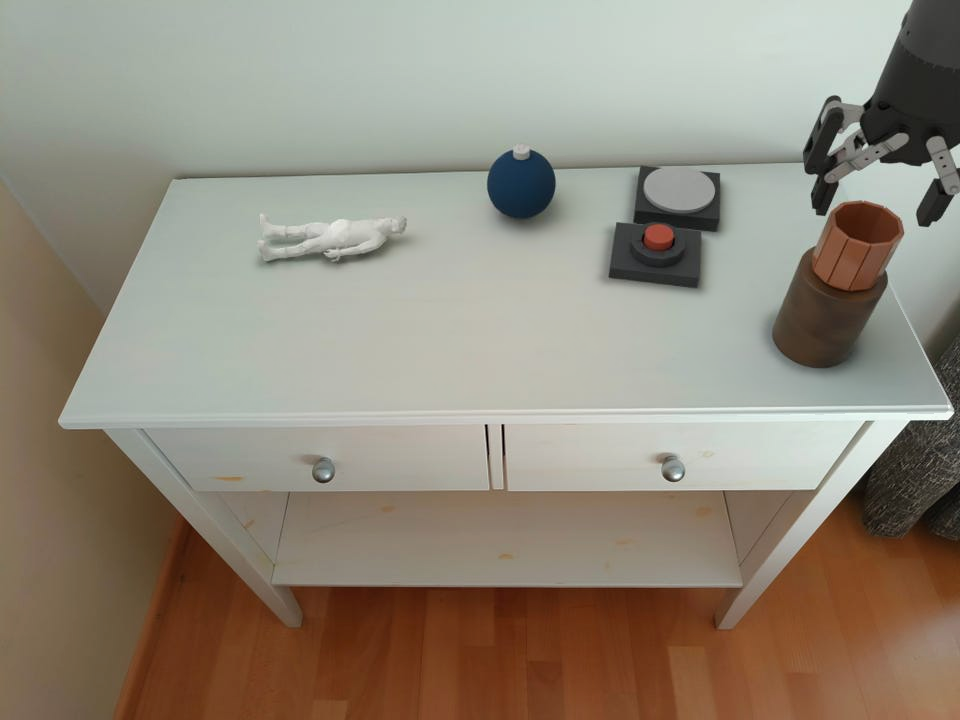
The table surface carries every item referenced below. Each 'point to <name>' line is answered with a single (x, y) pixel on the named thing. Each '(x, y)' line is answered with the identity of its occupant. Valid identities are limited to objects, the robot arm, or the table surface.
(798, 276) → the stand
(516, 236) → the table surface
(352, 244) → the figurine
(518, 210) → the christmas ornament
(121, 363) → the table surface
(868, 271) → the orange wooden cup
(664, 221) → the scale
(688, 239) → the red push button box
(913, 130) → the robot arm
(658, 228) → the button
